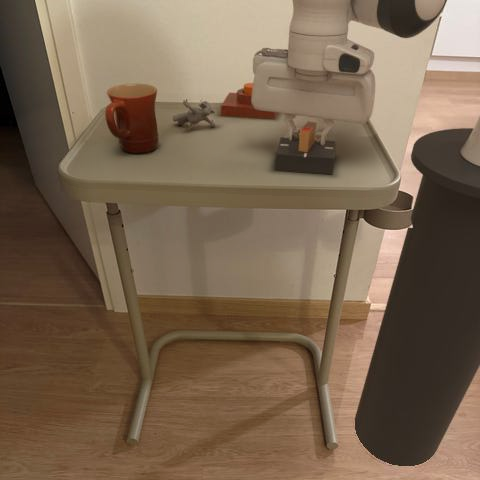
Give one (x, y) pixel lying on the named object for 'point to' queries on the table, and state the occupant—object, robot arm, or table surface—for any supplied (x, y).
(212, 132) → the table surface
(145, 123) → the mug
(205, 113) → the grey branched piece
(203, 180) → the table surface
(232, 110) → the button box
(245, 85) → the button
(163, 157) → the table surface
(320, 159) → the panel
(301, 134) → the tan upright tile
